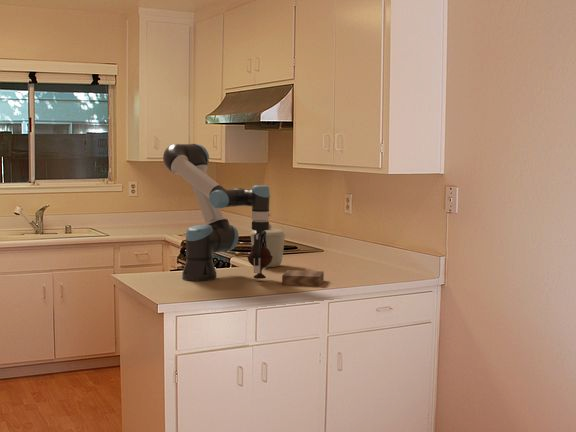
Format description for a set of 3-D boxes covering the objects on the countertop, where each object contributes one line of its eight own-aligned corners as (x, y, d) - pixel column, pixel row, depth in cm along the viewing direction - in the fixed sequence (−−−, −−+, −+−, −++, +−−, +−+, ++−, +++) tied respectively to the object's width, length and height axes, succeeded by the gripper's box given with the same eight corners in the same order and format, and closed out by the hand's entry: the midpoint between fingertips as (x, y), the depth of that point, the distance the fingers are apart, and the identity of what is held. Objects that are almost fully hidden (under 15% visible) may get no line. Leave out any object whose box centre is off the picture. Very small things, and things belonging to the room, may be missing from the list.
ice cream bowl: (250, 280, 332) (251, 245, 330) (245, 275, 342) (245, 242, 341) (274, 279, 335) (275, 245, 333) (268, 274, 345) (268, 241, 344)
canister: (264, 270, 367) (264, 226, 365) (242, 265, 381) (242, 223, 379) (293, 266, 378) (293, 223, 376) (270, 262, 392) (271, 220, 390)
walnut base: (282, 284, 330) (282, 275, 329) (287, 279, 343) (287, 270, 343) (319, 286, 327) (319, 276, 327) (323, 280, 341) (323, 271, 340)
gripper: (263, 224, 324) (262, 275, 326) (274, 218, 347) (273, 266, 349) (246, 223, 325) (245, 274, 327) (257, 217, 348) (257, 265, 350)
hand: (259, 270), depth 338 cm, fingers closed on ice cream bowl, 11 cm apart
